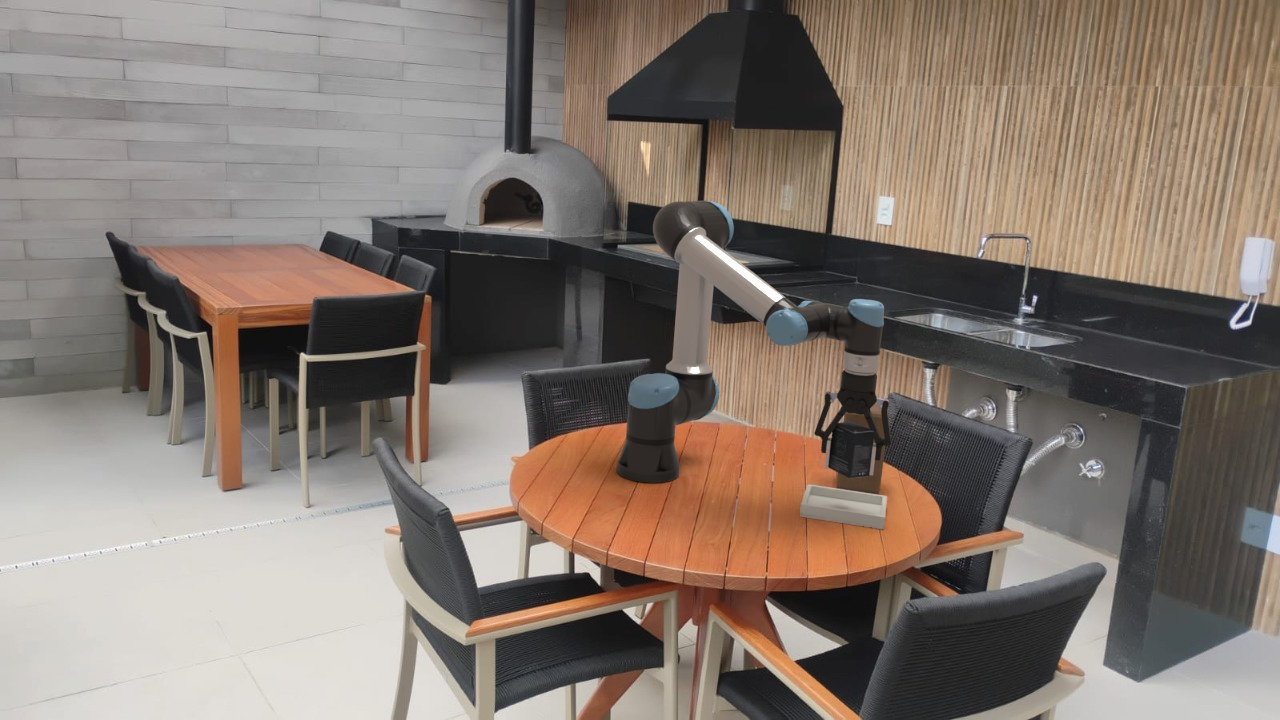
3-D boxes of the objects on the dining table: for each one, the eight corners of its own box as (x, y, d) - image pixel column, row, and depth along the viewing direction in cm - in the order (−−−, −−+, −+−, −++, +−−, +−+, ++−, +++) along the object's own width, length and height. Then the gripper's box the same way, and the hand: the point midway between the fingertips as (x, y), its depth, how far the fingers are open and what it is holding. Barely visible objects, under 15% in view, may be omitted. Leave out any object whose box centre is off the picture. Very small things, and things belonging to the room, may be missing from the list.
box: (869, 476, 216) (875, 430, 214) (849, 479, 213) (854, 432, 211) (847, 465, 223) (852, 420, 220) (827, 467, 220) (832, 422, 218)
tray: (799, 516, 216) (800, 504, 215) (806, 495, 229) (807, 484, 228) (883, 529, 211) (885, 517, 211) (885, 507, 225) (887, 496, 224)
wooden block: (879, 496, 232) (889, 414, 228) (836, 490, 234) (845, 409, 229) (878, 482, 242) (888, 403, 237) (836, 477, 243) (845, 399, 239)
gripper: (807, 369, 212) (797, 468, 217) (911, 381, 207) (899, 482, 212) (810, 362, 219) (801, 458, 224) (911, 373, 214) (899, 472, 219)
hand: (848, 470), depth 218 cm, fingers closed on box, 9 cm apart
